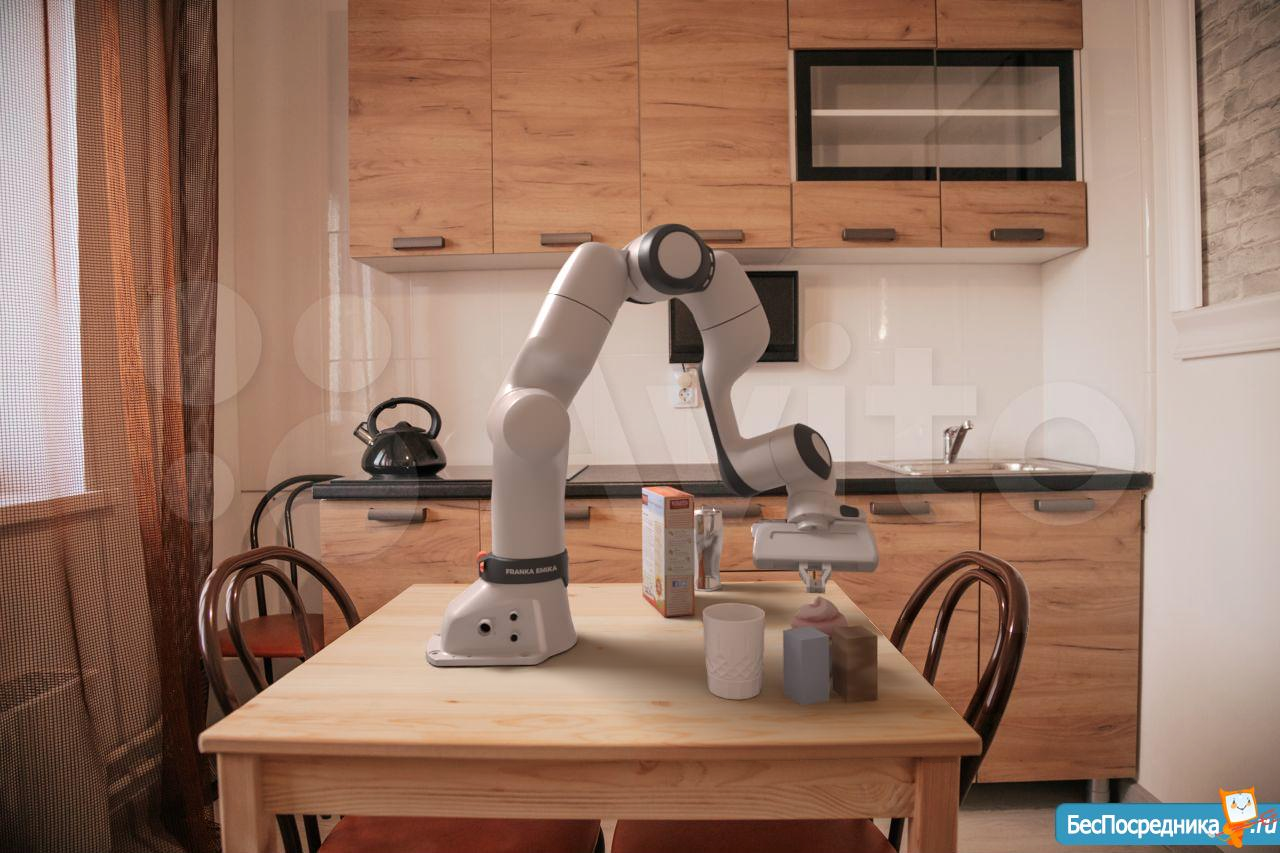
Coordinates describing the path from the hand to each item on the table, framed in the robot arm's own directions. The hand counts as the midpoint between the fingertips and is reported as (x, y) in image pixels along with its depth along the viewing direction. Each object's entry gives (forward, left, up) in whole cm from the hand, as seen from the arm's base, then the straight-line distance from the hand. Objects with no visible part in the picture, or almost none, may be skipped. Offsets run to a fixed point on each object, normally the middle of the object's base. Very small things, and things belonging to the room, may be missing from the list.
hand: (815, 591), depth 110 cm
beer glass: (-10, +28, -6) cm, 31 cm away
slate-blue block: (-12, -23, -6) cm, 26 cm away
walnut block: (-6, -24, -6) cm, 25 cm away
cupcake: (-6, -14, -6) cm, 17 cm away
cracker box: (-20, +18, -6) cm, 28 cm away
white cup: (-20, -19, -6) cm, 28 cm away
